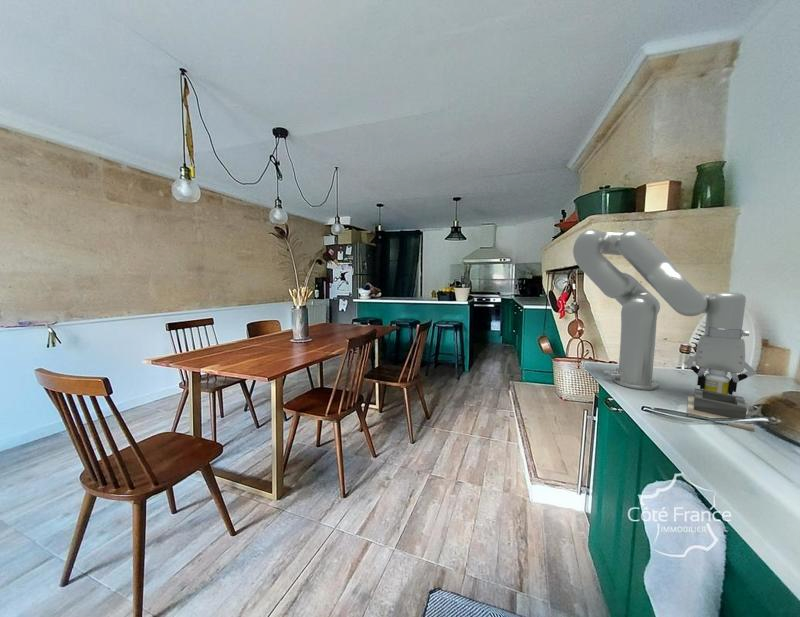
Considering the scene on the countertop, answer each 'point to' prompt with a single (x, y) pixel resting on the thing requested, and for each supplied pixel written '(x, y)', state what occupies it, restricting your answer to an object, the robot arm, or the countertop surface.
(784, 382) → the countertop surface
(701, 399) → the holder board
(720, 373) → the supplement bottle
